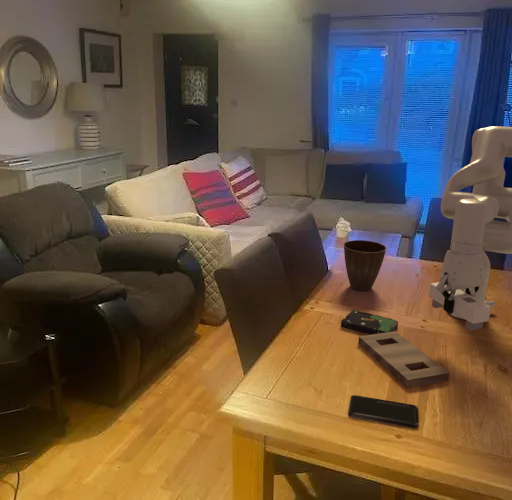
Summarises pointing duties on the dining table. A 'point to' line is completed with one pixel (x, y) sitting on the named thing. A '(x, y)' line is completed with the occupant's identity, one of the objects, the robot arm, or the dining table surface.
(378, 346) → the slot board
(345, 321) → the disk drive
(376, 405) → the phone
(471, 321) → the power strip
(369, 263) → the plant pot
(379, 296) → the dining table surface
